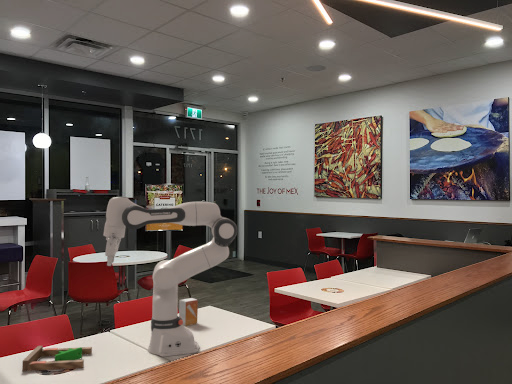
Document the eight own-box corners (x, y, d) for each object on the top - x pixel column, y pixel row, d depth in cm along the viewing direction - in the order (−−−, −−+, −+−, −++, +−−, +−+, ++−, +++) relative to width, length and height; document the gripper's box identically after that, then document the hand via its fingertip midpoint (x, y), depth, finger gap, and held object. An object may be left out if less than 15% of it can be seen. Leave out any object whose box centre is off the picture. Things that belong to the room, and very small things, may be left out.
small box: (185, 326, 221) (185, 301, 222) (178, 323, 226) (179, 299, 226) (197, 323, 227) (198, 299, 227) (190, 321, 231) (191, 297, 232)
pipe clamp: (76, 356, 177) (76, 345, 177) (81, 358, 175) (82, 347, 175) (51, 364, 168) (51, 353, 168) (56, 366, 166) (56, 355, 166)
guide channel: (91, 352, 181) (92, 343, 181) (82, 367, 164) (82, 357, 164) (37, 355, 177) (37, 345, 177) (22, 371, 160) (22, 360, 161)
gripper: (119, 235, 174) (115, 268, 174) (123, 231, 194) (119, 261, 193) (104, 233, 173) (99, 267, 172) (109, 230, 193) (105, 260, 192)
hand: (110, 264), depth 183 cm, fingers open, 8 cm apart
